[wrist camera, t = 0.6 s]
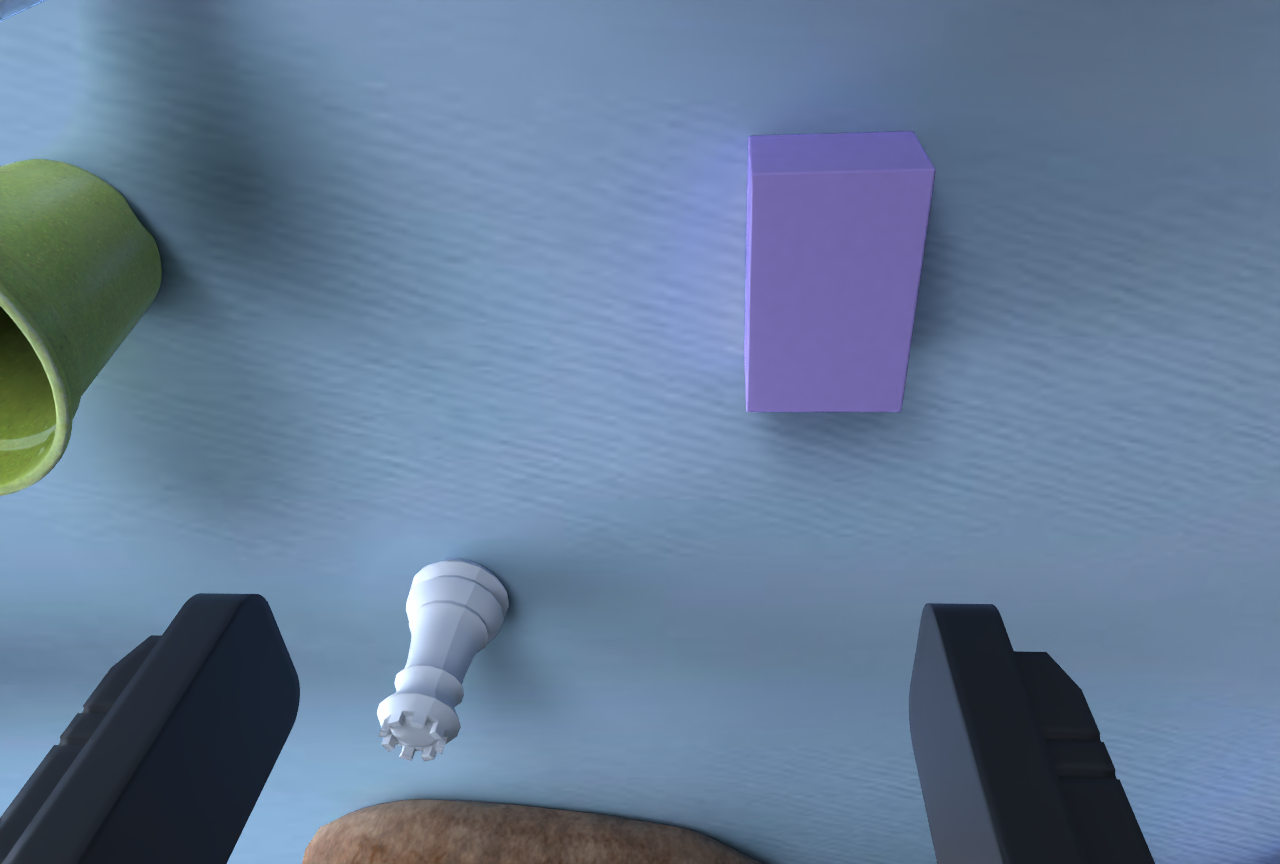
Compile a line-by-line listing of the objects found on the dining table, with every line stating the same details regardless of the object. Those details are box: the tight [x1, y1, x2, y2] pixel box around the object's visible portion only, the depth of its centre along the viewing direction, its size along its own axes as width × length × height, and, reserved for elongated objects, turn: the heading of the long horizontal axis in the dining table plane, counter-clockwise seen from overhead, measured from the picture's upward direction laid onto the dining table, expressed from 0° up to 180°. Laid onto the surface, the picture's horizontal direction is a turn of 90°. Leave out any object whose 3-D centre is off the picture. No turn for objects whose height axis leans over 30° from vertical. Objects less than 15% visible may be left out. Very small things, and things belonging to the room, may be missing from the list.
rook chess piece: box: [377, 559, 509, 761], centre depth 37 cm, size 4×4×8 cm
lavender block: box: [744, 131, 936, 412], centre depth 28 cm, size 8×5×4 cm, turn 3°
